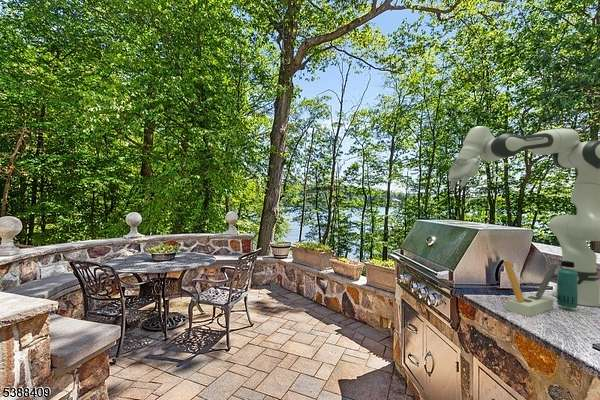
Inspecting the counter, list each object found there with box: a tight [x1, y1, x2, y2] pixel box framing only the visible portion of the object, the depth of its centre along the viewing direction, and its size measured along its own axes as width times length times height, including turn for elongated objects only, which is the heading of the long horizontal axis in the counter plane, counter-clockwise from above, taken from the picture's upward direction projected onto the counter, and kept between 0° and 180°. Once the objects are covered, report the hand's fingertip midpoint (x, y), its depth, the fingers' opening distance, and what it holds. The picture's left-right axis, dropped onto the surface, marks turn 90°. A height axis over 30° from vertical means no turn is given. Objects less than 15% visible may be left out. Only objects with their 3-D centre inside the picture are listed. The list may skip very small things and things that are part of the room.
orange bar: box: [502, 260, 524, 301], centre depth 118 cm, size 3×1×16 cm, turn 118°
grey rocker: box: [535, 262, 559, 297], centre depth 120 cm, size 3×1×16 cm, turn 118°
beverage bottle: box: [556, 261, 578, 309], centre depth 119 cm, size 6×7×20 cm
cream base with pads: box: [505, 292, 554, 318], centre depth 119 cm, size 20×8×4 cm, turn 118°
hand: (456, 187), depth 130 cm, fingers open, 8 cm apart
